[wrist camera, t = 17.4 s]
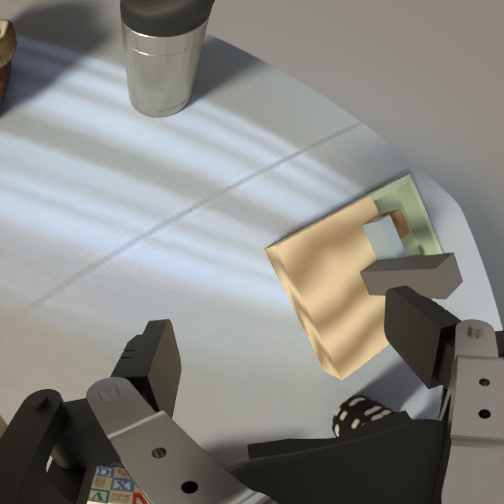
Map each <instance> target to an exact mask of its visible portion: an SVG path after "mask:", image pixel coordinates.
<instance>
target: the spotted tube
mask: <svg viewBox="0 0 504 504" xmlns="http://www.w3.org/2000/svg"><path fill="white" fill-rule="evenodd" d="M396 413H399V412H397V411H395V410H393V409H391V408H389V407H387V406H385V405H383V404H381V403H379V402H377V401H375V400H373V399H371V398H369V397H367V396H363V395H359V396H354V397H352V398H350V399H348V400H347V401H345V402H344V403H343V404H342V405H341V406H340V407H339V408H338V410H337V411H336V413H335V415H334V418H333V422H332V429H333V433H334V434H335V436H336V437H338V436H341V435H343V434H345V433H347V432H349V431H351V430H353V429H355V428H358V427H360V426H362V425H364V424H366V423H368V422H370V421H372V420H376V419H379V418H383V417H386V416H389V415H393V414H396ZM412 420H413V419H412Z"/></svg>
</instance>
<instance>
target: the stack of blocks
mask: <svg viewBox="0 0 504 504" xmlns="http://www.w3.org/2000/svg"><path fill="white" fill-rule="evenodd" d="M87 504H148V502H147V501H146V499H145V498H144V497H143V495H142V494H141V492H140V491H139V490H138V488H137V487H136V485H135V484H134V482H133V481H132V480H131V478H130V477H129V475H128V474H127V472H126V471H125V469H124V468H120V467H111V466H102V465H98V466H97V467H96V471H95V474H94V478H93V482H92V486H91V490H90V494H89V498H88V502H87Z"/></svg>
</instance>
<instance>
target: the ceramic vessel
mask: <svg viewBox="0 0 504 504" xmlns="http://www.w3.org/2000/svg"><path fill="white" fill-rule="evenodd" d="M16 45H17V40H16V36H15V31H14V27H13V24H12V22H11V21H9V20H3V19H0V103H1V101H2V99H3V96H4V93H5V90H6V86H7V83H8V80H9V76H10V70H11V58H12V56H13V54H14V52H15V49H16Z"/></svg>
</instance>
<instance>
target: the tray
mask: <svg viewBox="0 0 504 504" xmlns="http://www.w3.org/2000/svg"><path fill="white" fill-rule="evenodd" d="M370 195H371V197H372V199H373V201H374V203H375V205H376V207H377V210H378V212H379V214H380V216H381V215H382V214H384V213H387V212H390V211H394V210H397V209H401V212H402V214H403V216H404V218H405V221H406V223H407V225H408V228H409V230H410V233H409V234H408V235H406V236H405V237H403V238H402V239H401V242H402V245H403V247H404V250H405V252H406V255H407V256H411V255H421V254H424V256H425V255H435V254H442V251H441V248H440V245H439V243H438V240H437V237H436V235H435V232H434V229H433V227H432V224H431V222H430V219H429V217H428V214H427V212H426V209H425V207H424V205H423V202H422V200H421V198H420V195H419V193H418V191H417V189H416V186H415V184H414V182H413V180H412V178H411V176H410V174H408V175H406V176H403V177H401V178H398V179H396V180H393V181H391V182H389V183H388V184H386V185H384V186H382V187H380V188H378V189H376V190H374V191H373V192H371V193H369V194H367V195H365V196H363V197H361V198H359V199H358V200H360V199H362V198H365V197H367V196H370ZM356 201H357V200H356ZM432 300H433V301H436V300H437V299H432Z"/></svg>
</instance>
